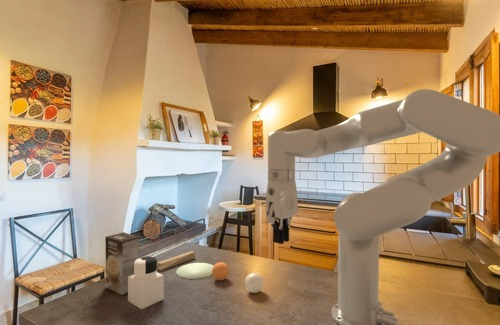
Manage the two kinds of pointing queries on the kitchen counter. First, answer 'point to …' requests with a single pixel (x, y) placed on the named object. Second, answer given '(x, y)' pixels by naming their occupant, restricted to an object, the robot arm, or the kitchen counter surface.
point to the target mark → (195, 270)
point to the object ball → (220, 271)
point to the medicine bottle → (145, 283)
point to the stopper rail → (175, 260)
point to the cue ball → (253, 282)
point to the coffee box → (120, 260)
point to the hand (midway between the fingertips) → (281, 241)
